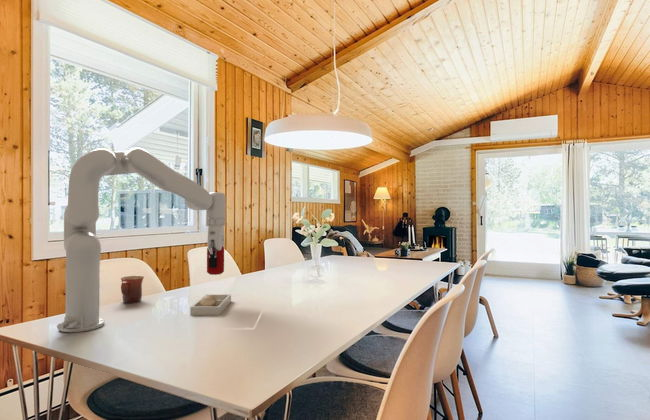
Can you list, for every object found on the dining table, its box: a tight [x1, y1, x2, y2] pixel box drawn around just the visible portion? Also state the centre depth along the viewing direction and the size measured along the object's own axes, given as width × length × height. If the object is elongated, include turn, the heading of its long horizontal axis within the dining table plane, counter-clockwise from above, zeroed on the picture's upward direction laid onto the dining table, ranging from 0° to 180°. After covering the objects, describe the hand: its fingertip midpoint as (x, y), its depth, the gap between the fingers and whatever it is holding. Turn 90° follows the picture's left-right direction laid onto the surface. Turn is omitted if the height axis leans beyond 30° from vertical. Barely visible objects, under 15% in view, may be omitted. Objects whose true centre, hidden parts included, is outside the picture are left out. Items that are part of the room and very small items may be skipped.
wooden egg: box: [201, 294, 217, 306], centre depth 143 cm, size 6×6×6 cm
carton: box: [189, 294, 232, 316], centre depth 148 cm, size 20×11×4 cm, turn 2°
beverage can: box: [206, 246, 225, 276], centre depth 153 cm, size 7×7×12 cm
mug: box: [120, 275, 145, 304], centre depth 157 cm, size 12×9×10 cm
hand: (215, 265), depth 153 cm, fingers closed on beverage can, 6 cm apart
